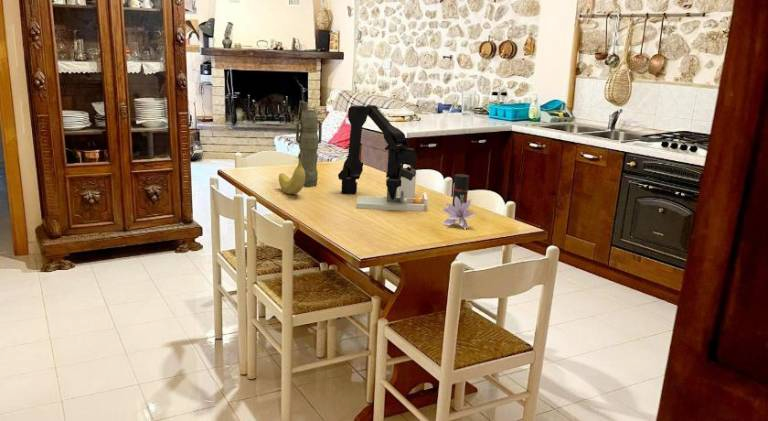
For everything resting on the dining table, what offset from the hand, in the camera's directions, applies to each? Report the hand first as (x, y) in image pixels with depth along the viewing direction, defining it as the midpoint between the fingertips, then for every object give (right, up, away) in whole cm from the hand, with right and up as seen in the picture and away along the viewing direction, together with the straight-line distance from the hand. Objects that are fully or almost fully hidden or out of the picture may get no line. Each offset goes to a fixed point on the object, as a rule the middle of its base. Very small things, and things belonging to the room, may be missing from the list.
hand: (392, 198), depth 260 cm
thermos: (-40, +7, +31) cm, 51 cm away
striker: (+1, -1, 0) cm, 2 cm away
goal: (+10, -4, +1) cm, 11 cm away
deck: (-5, -3, +1) cm, 5 cm away
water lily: (+24, -11, -23) cm, 35 cm away
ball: (+10, -2, 0) cm, 11 cm away
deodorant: (+28, -5, -1) cm, 28 cm away
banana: (-45, +2, +12) cm, 47 cm away
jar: (+6, +1, +20) cm, 21 cm away
